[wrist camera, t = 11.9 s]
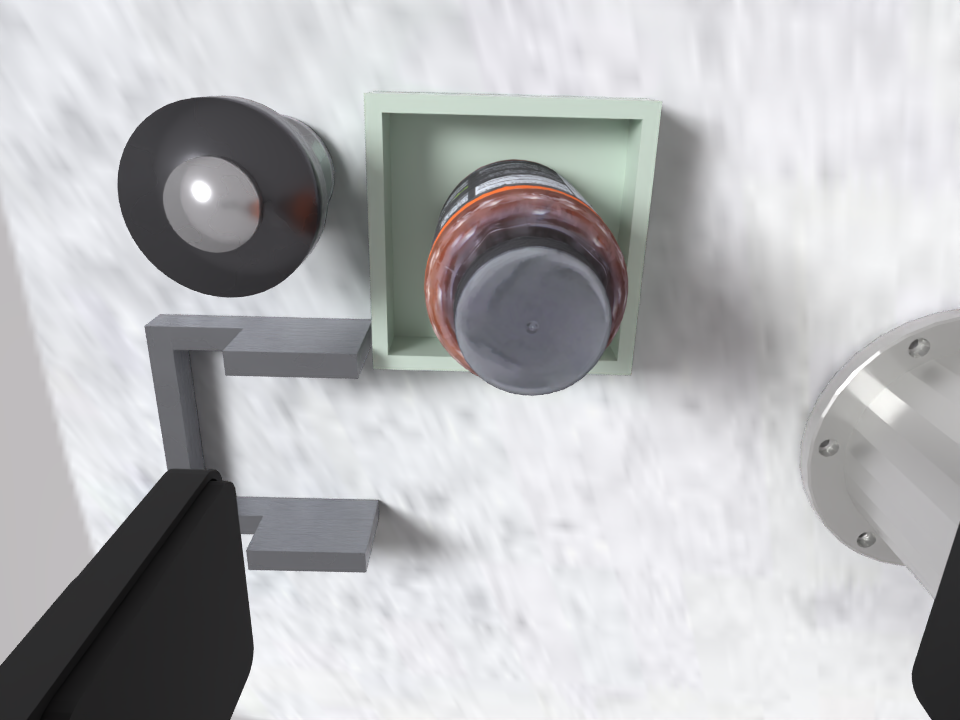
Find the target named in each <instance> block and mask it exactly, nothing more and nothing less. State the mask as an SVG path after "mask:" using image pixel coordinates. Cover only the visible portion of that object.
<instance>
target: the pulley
mask: <svg viewBox="0 0 960 720" xmlns="http://www.w3.org/2000/svg"><path fill="white" fill-rule="evenodd" d="M333 187H334V167H333V163H332V159H331V156H330V154H329V151H328V149H327V147H326V145H325V144H324V142H323V141H322V140H321V138H320V137H319V136H318V135H317V134H316V132H314V131H313V130H312V129H311V128H310V127H309V126H307V125H306V124H304V123H303V122H301V121H299V120H297V119H295V118H292V117H290V116H286V115H281V114H279V113H277V112H276V111H274V110H272V109H270V108H268V107H267V106H265V105H263V104H260V103H257V102H255V101H252V100H249V99H244V98H240V97H233V96H209V97H198V98H190V99H185V100H180V101H177V102H174V103H171V104H168V105H166V106H164V107H162V108H160V109H158V110H157V111H155V112H154V113H152V114H151V115H150V116H148V117H147V118H146V119H145V120H144V121H143V122H142V123H141V124H140V125H139V126H138V127H137V128H136V130H135V131H134V133H133V134H132V135H131V137H130V138H129V140H128V142H127V144H126V146H125V148H124V151H123V154H122V157H121V160H120V165H119V171H118V196H119V203H120V207H121V212H122V215H123V218H124V220H125V223H126V226H127V228H128V230H129V232H130V234H131V236H132V238H133V239H134V241H135V243H136V244H137V246H138V247H139V249H140V250H141V251H142V252H143V254H144V255H145V256H146V257H147V258H148V260H149V261H150V262H151V263H152V264H153V265H154V266H155V267H157V268H158V269H159V270H160V271H161V272H163V273H164V274H165V275H166V276H168V277H169V278H171V279H172V280H174V281H176V282H177V283H179V284H181V285H183V286H185V287H187V288H189V289H191V290H194V291H197V292H200V293H203V294H207V295H212V296H218V297H244V296H250V295H254V294H257V293H261V292H264V291H266V290H268V289H270V288H272V287H275V286H276V285H278V284H279V283H281V282H282V281H284V280H285V279H286V278H287V277H288V276H290V275H291V274H292V273H293V272H294V271H295V270H296V269H297V268H298V267H299V266H300V265H301V263H302V262H303V261H304V260H305V259H306V258H307V257H308V256H309V254H310V253H311V252H312V251H313V249H314V247H315V246H316V244H317V243H318V241H319V238H320V236H321V234H322V232H323V228H324V225H325V221H326V215H327V204H328V202H329V200H330V197H331V195H332V191H333Z"/></svg>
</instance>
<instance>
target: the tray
mask: <svg viewBox="0 0 960 720" xmlns="http://www.w3.org/2000/svg"><path fill="white" fill-rule="evenodd" d="M661 108H662V101H657V100H651V99H643V98H606V97H569V96H532V95H494V94H457V93H420V92H383V91H374V92H369V93H364V116H365V146H366V175H367V205H368V234H369V264H370V293H371V323H372V352H373V369H389V370H430V371H469V370H467V369H465V368H464V367H463V366H462V365H460V364H459V363H458V362H457V361H456V360H455V359H454V358H453V357H452V356H451V355H450V354H449V353H448V352H447V351H446V349H445V348H444V347H443V346H442V344H441V342H440V341H439V339H438V337H437V336H436V334H435V332H434V330H433V327H432V325H431V322H430V319H429V316H428V312H427V308H426V301H425V290H424V282H425V271H426V266H427V262H428V258H429V254H430V250H431V246H432V242H433V238H434V234H435V231H436V227H437V224H438V220H439V217H440V213H441V210H442V208H443V206H444V204H445V202H446V201H447V199H448V197H449V195H450V194H451V193H452V191H453V190H454V189H455V187H456V186H457V185H458V184H459V183H460V182H461V181H462V180H463V179H464V178H466V177H467V176H468V175H469V174H471V173H472V172H474V171H475V170H477V169H478V168H480V167H482V166H485V165H488V164H490V163H494V162H497V161H502V160H510V159H518V160H527V161H532V162H536V163H539V164H542V165H544V166H547V167H549V168H550V169H553V170H554V171H555V172H557V173H558V174H559V175H561V176H562V177H563V178H565V179H566V180H567V181H568V182H569V183H570V184H571V185H572V186H573V187H574V188H575V189H576V190H577V191H578V192H579V193H580V194H581V196H582V197H583V198H584V199H585V200H586V201H587V202H588V204H589V205H591V206H592V208H593V209H594V210H595V212H596V213H597V214H598V215H599V216H600V217H601V218H602V220H603V221H604V223H605V224H606V225H607V227H608V228H609V229H610V231H611V232H612V234H613V236H614V237H615V239H616V241H617V243H618V245H619V247H620V250H621V252H622V254H623V256H624V260H625V264H626V267H627V274H628V296H627V304H626V308H625V312H624V315H623V319H622V321H621V324H620V327H619V330H618V332H617V333H616V335H615V336H614V338H613V340H612V342H611V343H610V345H609V346H608V347H607V348H606V349H605V351H604V353H603V354H602V356H601V358H600V359H599V361H598V362H597V364H596V365H595V366H594V367H593V369H592V370H590V371H589V372H588V373H587V374H595V375H631V371H632V363H633V354H634V345H635V336H636V327H637V319H638V310H639V301H640V292H641V283H642V275H643V266H644V257H645V248H646V240H647V231H648V222H649V213H650V204H651V196H652V187H653V178H654V169H655V160H656V152H657V143H658V134H659V125H660V117H661Z"/></svg>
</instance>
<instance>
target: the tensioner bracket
mask: <svg viewBox="0 0 960 720" xmlns="http://www.w3.org/2000/svg"><path fill="white" fill-rule="evenodd" d="M145 332H146V338H147V345H148V351H149V357H150V363H151V369H152V376H153V382H154V388H155V394H156V401H157V407H158V413H159V419H160V426H161V432H162V438H163V444H164V451H165V457H166V463H167V469H168V470H169V469H174V468H177V469H205V466H204V459H203V452H202V444H201V437H200V430H199V422H198V415H197V408H196V401H195V393H194V386H193V379H192V372H191V364H190V357H189V350H208V351H223V358H224V367H225V375H226V376H268V377H309V378H350V379H358V377H359V375H360V372H361V370H362V367H363V365H364V362H365V360H366V357H367V355H368V353H369V350H370V348H371V345H372V323H371V320H369V319H329V318H288V317H248V316H207V315H167V314H160V315H159V316H157V317H156V318H155V319H153V320H152V321H151V322H149V323H148V324H147V325H145ZM236 498H237V507H238V515H239V524H240V532H241V534H254V536H253V538H252V540H251V542H250V544H249V546H248V548H247V550H246V552H247V561H248V569H249V570H280V571H325V572H366V571H367V567H368V562H369V558H370V554H371V550H372V545H373V541H374V537H375V532H376V528H377V524H378V519H379V508H378V500H354V499H310V498H267V497H236Z"/></svg>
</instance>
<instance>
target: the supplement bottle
mask: <svg viewBox="0 0 960 720" xmlns="http://www.w3.org/2000/svg"><path fill="white" fill-rule="evenodd" d="M424 290H425V301H426V308H427V312H428V316H429V319H430V322H431V325H432V327H433V330H434V332H435V334H436V336H437V337H438V339H439V341H440V342H441V344H442V346H443V347H444V348H445V349H446V351H447V352H448V353H449V354H450V355H451V356H452V357H453V358H454V359H455V360H456V361H457V362H458V363H459V364H460V365H462V366H463V367H464V368H465V369H467V370H469V371H470V372H471V373H473V374H475V375H477V376H479V377H481V378H482V379H483V380H484V381H486V382H487V383H489V384H491V385H492V386H494V387H496V388H498V389H501V390H504V391H506V392H509V393H514V394H520V395H531V396H533V395H544V394H550V393H553V392H557V391H560V390H563V389H565V388H567V387H569V386H571V385H573V384H574V383H576V382H577V381H579V380H580V379H582V378H583V377H584V376H585V375H586V374H587V373H588V372H589V371H590V370H592V369H593V367H594V366H595V365H596V364H597V362H598V361H599V359H600V358H601V356H602V354H603V353H604V351H605V349H606V348H607V347H608V346H609V345H610V343H611V342H612V340H613V338H614V336H615V335H616V333H617V332H618V330H619V327H620V324H621V321H622V319H623V315H624V312H625V308H626V304H627V296H628V274H627V267H626V264H625V260H624V256H623V254H622V252H621V250H620V247H619V245H618V243H617V241H616V239H615V237H614V236H613V234H612V232H611V231H610V229H609V228H608V227H607V225H606V224H605V223H604V221H603V220H602V218H601V217H600V216H599V215H598V214H597V213H596V212H595V210H594V209H593V208H592V206H591V205H589V204H588V202H587V201H586V200H585V199H584V198H583V197H582V196H581V194H580V193H579V192H578V191H577V190H576V189H575V188H574V187H573V186H572V185H571V184H570V183H569V182H568V181H567V180H566V179H565V178H563V177H562V176H561V175H559V174H558V173H557V172H555V171H554V170H553V169H550V168H549V167H547V166H544V165H542V164H539V163H536V162H532V161H527V160H518V159H510V160H502V161H497V162H494V163H490V164H488V165H485V166H482V167H480V168H478V169H477V170H475V171H474V172H472V173H471V174H469V175H468V176H467V177H466V178H464V179H463V180H462V181H461V182H460V183H459V184H458V185H457V186H456V187H455V189H454V190H453V191H452V193H451V194H450V195H449V197H448V199H447V201H446V202H445V204H444V206H443V208H442V210H441V213H440V217H439V220H438V224H437V227H436V231H435V234H434V238H433V242H432V246H431V250H430V254H429V258H428V262H427V266H426V271H425V282H424Z"/></svg>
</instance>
